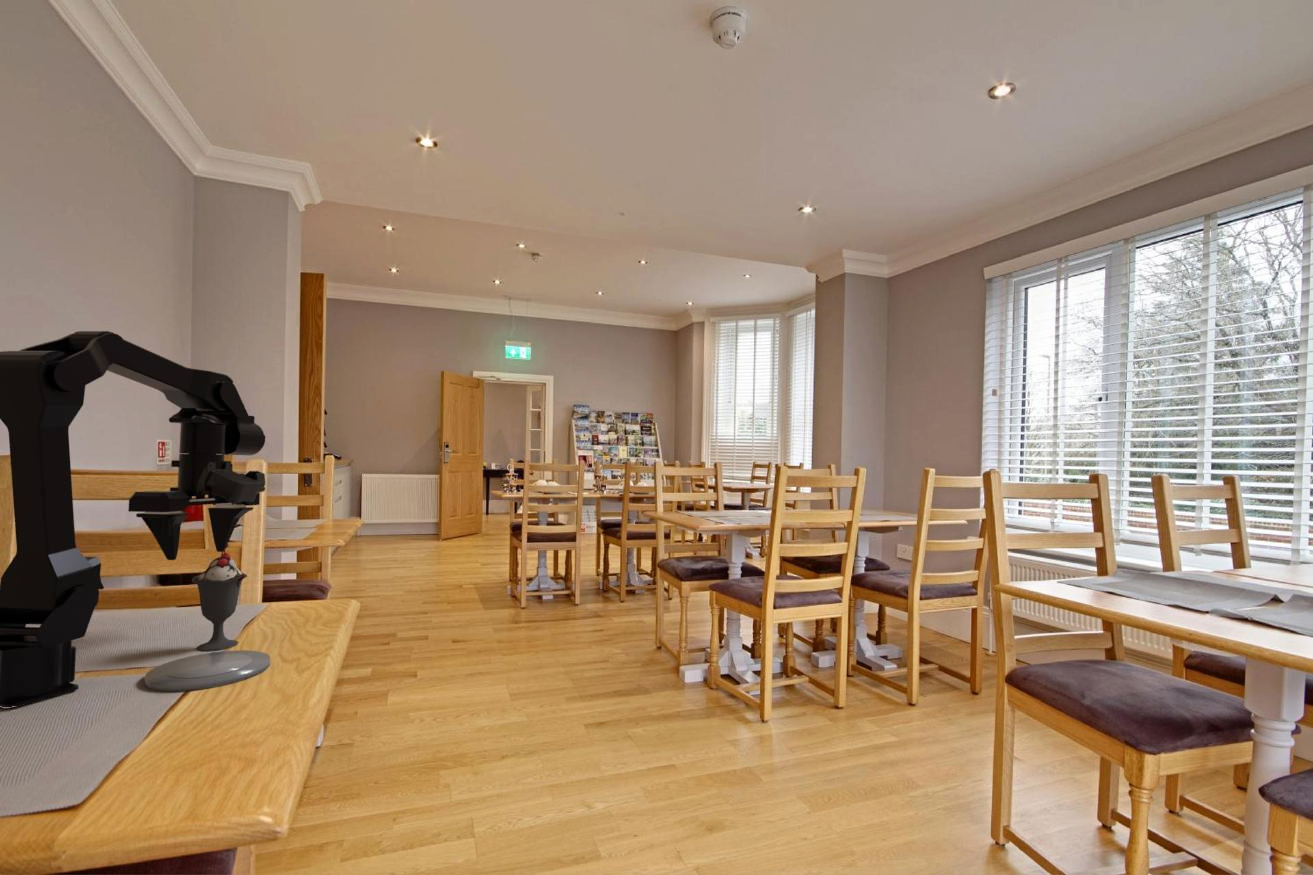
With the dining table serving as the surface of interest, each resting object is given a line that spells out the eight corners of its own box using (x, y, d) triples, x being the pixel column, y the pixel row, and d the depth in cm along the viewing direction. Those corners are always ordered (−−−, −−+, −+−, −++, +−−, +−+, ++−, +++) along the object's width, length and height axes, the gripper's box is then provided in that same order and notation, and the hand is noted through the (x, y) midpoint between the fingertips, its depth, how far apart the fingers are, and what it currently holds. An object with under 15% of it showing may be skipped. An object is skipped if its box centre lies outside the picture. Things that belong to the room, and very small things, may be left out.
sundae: (224, 653, 87) (228, 546, 88) (177, 652, 87) (181, 545, 88) (255, 639, 94) (259, 540, 94) (212, 638, 94) (215, 539, 94)
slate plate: (192, 697, 71) (192, 689, 71) (119, 682, 76) (119, 674, 76) (292, 662, 84) (293, 656, 84) (224, 651, 88) (225, 645, 88)
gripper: (202, 453, 86) (196, 566, 85) (291, 456, 105) (287, 549, 104) (127, 452, 87) (121, 564, 86) (229, 455, 106) (225, 547, 105)
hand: (197, 555), depth 95 cm, fingers open, 9 cm apart
